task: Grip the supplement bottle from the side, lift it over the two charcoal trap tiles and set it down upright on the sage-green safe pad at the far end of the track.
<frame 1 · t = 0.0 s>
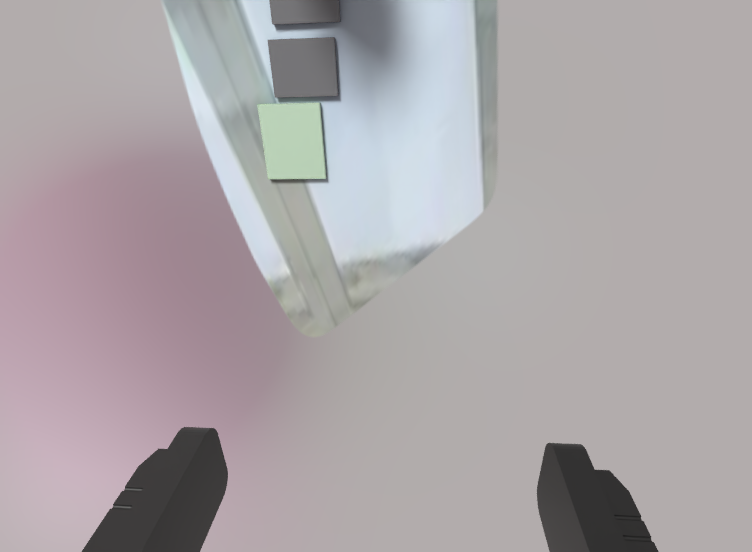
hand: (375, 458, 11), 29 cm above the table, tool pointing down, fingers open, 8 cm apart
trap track: (301, 38, 33), on the table
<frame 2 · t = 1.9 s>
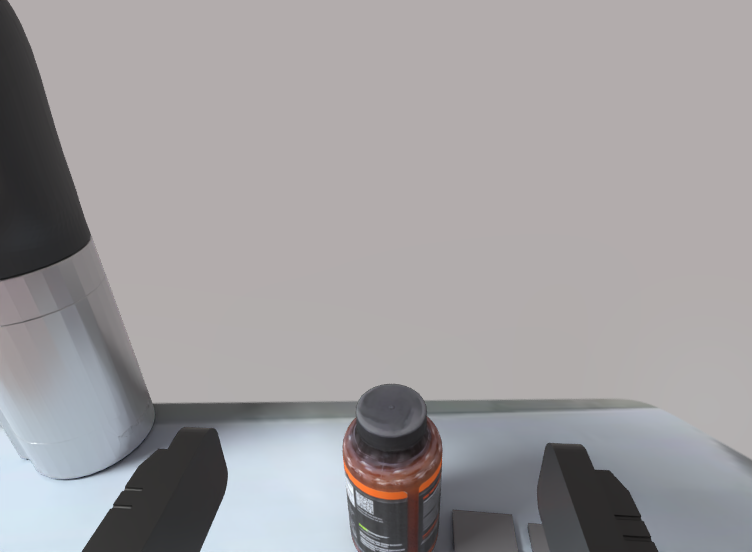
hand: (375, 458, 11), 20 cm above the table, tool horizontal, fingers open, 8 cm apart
supplement bottle: (393, 531, 30), on the table
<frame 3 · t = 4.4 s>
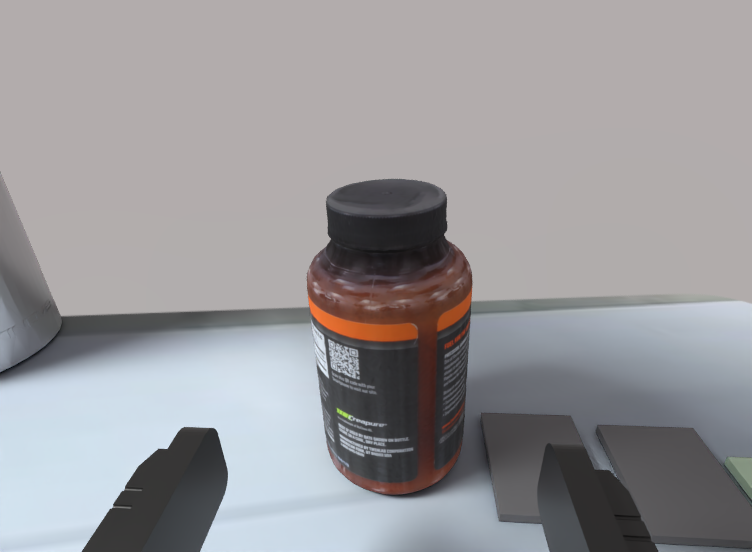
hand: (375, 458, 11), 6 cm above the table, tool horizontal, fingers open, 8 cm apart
supplement bottle: (393, 444, 19), on the table
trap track: (619, 479, 17), on the table
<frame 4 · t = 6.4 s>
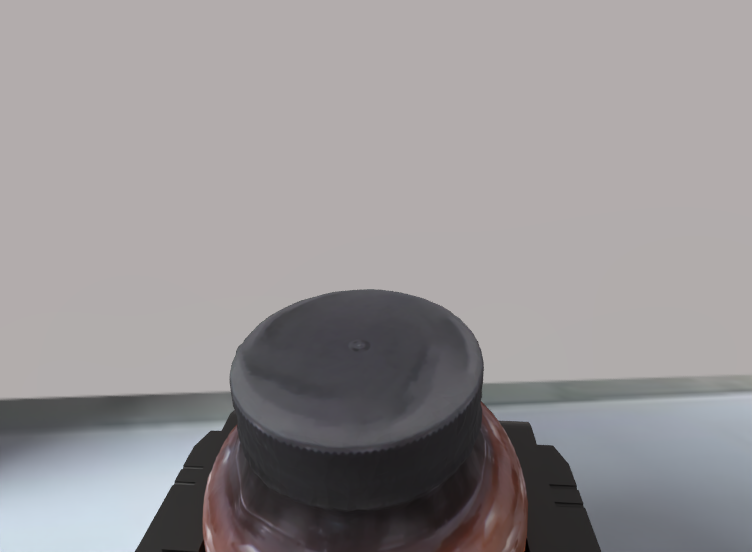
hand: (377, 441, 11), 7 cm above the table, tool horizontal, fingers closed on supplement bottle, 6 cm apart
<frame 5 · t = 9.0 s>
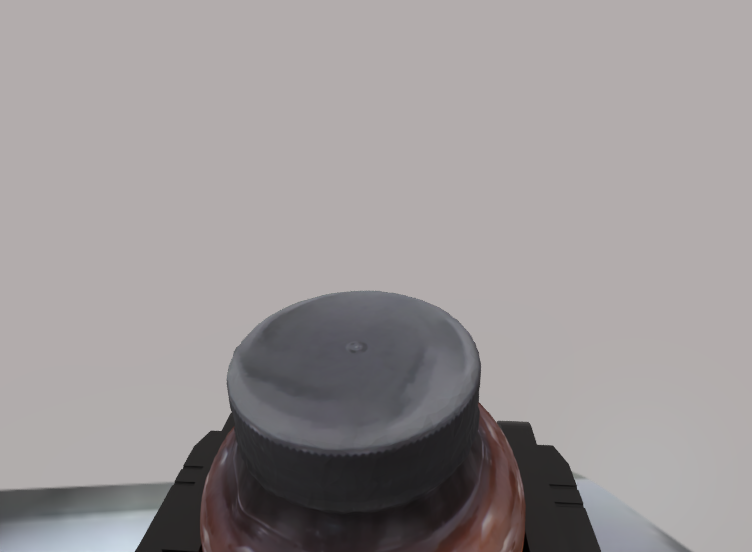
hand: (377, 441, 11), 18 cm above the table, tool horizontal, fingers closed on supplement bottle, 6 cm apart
when the fingers open (8 cm above the table, at t = 11.9 s): supplement bottle stays where it is, resting on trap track.
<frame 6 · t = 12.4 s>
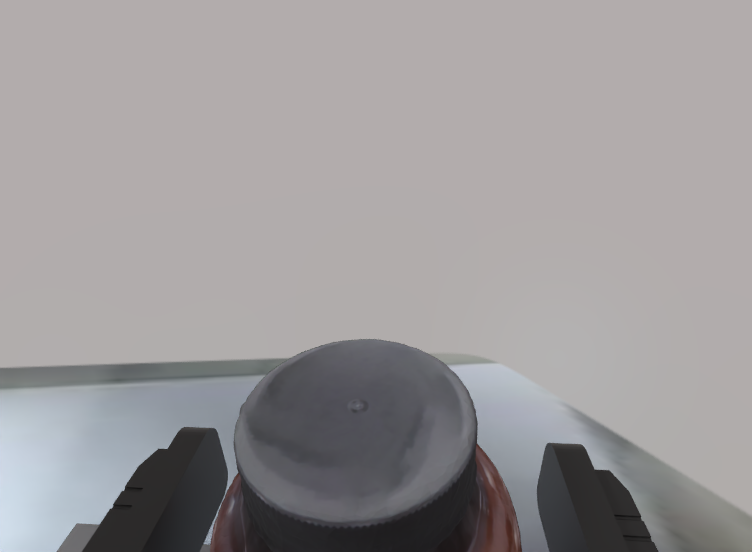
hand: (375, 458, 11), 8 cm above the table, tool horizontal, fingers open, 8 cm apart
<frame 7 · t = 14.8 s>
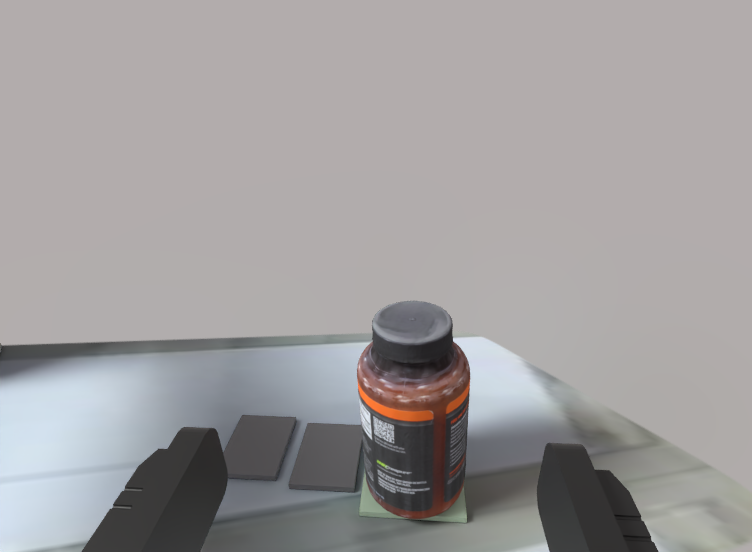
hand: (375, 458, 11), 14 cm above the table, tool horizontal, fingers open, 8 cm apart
supplement bottle: (413, 480, 27), resting on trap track
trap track: (299, 455, 29), on the table
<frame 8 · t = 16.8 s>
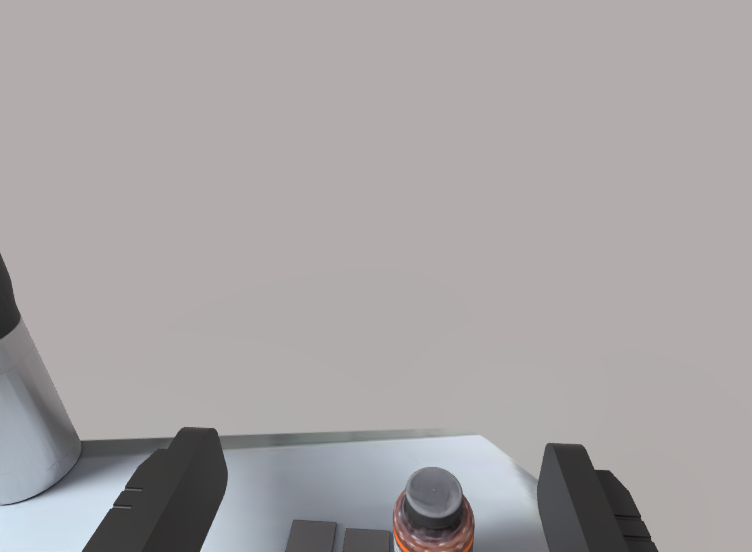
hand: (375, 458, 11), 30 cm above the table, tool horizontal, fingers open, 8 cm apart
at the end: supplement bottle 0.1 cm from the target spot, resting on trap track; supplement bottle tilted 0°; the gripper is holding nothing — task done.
